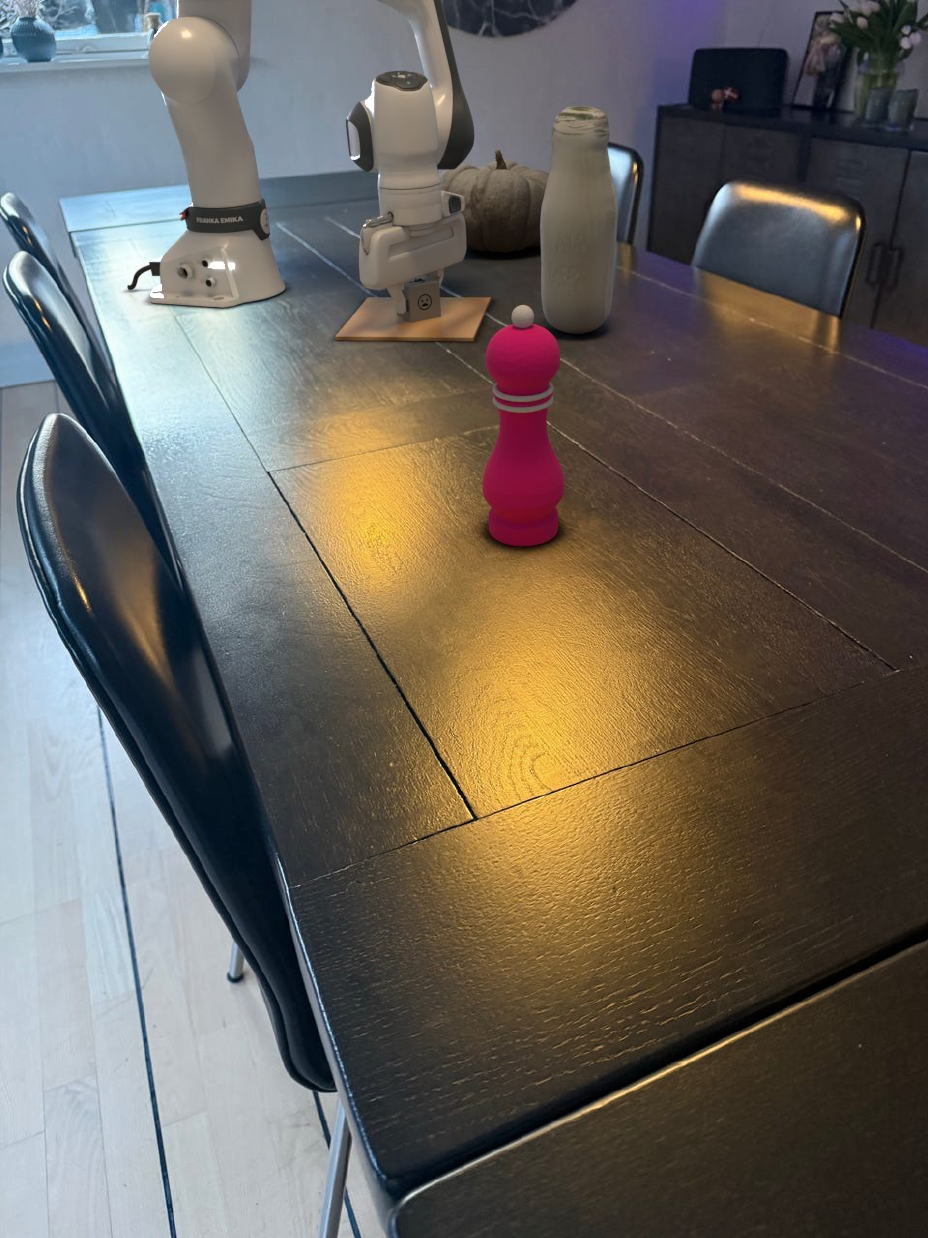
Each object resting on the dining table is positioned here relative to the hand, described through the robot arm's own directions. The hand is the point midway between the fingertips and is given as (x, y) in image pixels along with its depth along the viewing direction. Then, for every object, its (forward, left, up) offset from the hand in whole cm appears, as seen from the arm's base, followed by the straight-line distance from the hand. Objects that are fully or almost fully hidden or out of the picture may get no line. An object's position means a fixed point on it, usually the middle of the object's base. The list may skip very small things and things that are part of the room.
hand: (417, 306), depth 134 cm
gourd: (+7, +47, -2) cm, 47 cm away
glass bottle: (+24, -5, -2) cm, 24 cm away
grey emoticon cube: (0, 0, -2) cm, 2 cm away
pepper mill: (+22, -63, -2) cm, 67 cm away
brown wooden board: (0, 0, -2) cm, 2 cm away
